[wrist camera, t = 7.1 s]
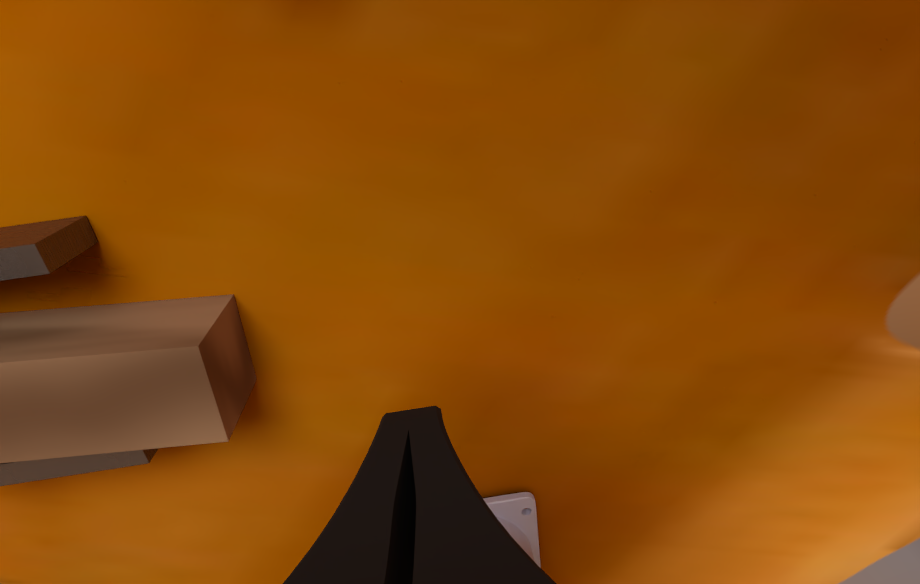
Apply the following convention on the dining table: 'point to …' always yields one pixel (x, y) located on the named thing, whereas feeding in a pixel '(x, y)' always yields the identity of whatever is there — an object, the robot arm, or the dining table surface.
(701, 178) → the dining table surface
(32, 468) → the bracket
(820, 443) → the dining table surface
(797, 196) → the dining table surface
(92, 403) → the rail
